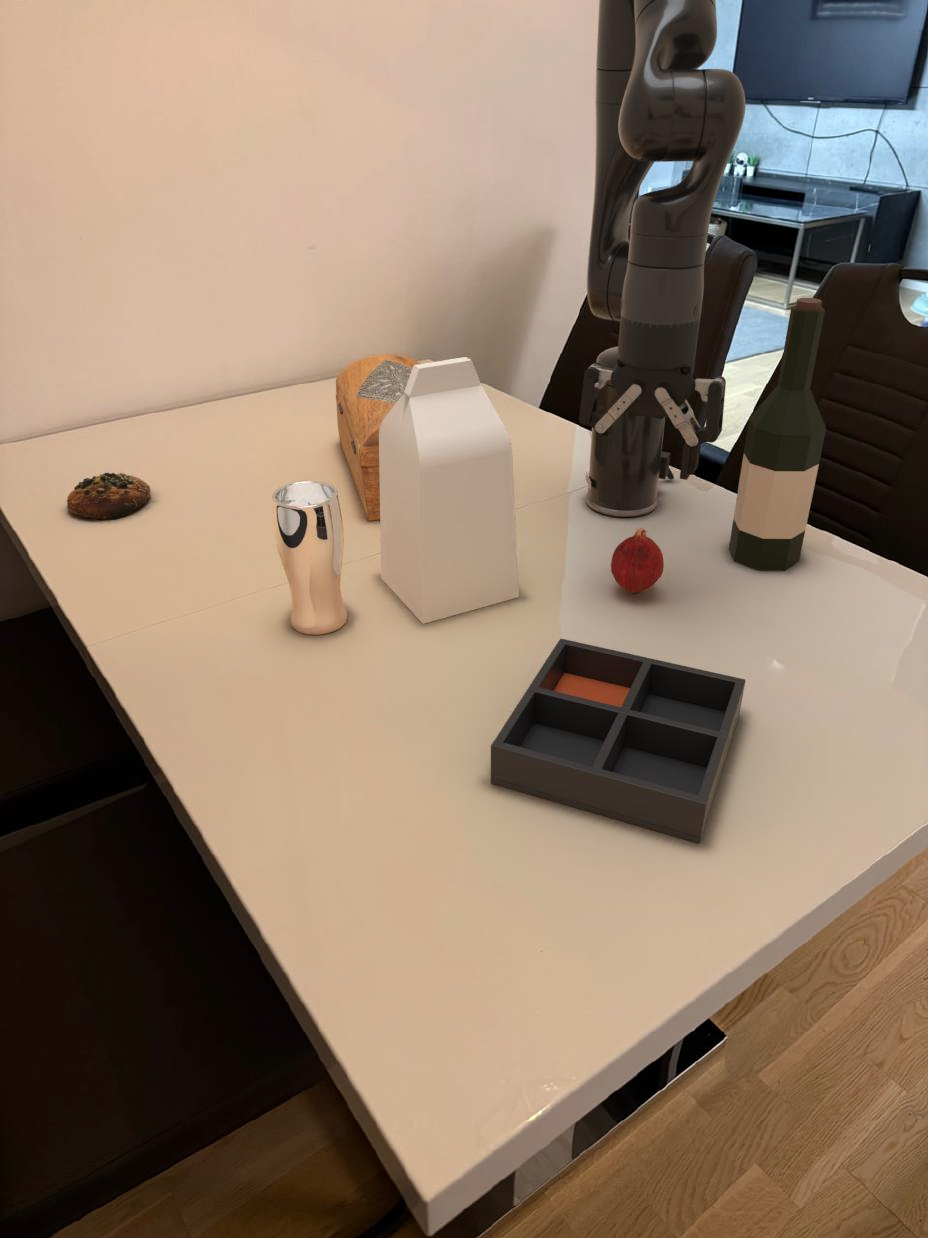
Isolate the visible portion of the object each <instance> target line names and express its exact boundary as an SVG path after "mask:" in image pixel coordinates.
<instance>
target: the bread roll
mask: <svg viewBox="0 0 928 1238" xmlns="http://www.w3.org/2000/svg"><path fill="white" fill-rule="evenodd" d="M150 496H151V486H150V485H149V484H148V482H146V481H144V480H142V479H141V478H140V477H137V476H134V475H129V474H126V473H123V472H120V473H115V472H111V473H110V472H104V473H101V474H99V475H97V476H96V475H93V476H92V477H91V478H89V477H86V478H83V480H82V481H79V482H78V483H77V485H75V486H74V487H73V490H71V492H69V494H68V495H67V499H66V509H67V510H68V511H69V512H70V513H71V514H74V515H75V516H79V517H82V518H90V519H95V520H98V519H102V520H107V521H110V520H111V521H112V520H115V519H118V518H122V517H123V516H126V515H129V514H131V513H133V512H135V510H139V509H140V508H142V506H144V505H145V504H146V503H147V500H148V498H150Z"/></svg>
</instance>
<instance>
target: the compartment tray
mask: <svg viewBox="0 0 928 1238" xmlns="http://www.w3.org/2000/svg"><path fill="white" fill-rule="evenodd" d="M745 686H746V679H745V678H740V677H736V676H731V675H727V674H724V673H723V674H722V673H718V672H713V671H709V670H704V669H700V668H695V667H691V666H686V665H682V664H678V663H674V662H673V663H672V662H668V661H663V660H659V659H656V658H650V657H646V656H642V655H638V654H633V653H628V652H623V651H620V650H614V649H611V648H606V647H601V646H597V645H592V644H588V643H583V642H580V641H574V640H571V639H566V638H559V640H558V641H557V643H556V644H555V646H554V647H553V649H552V651H551V652H550V654H549V655H548V656H547V658H546V659H545V661H544V663H543V665H542V666H541V668H540V669H539V670H538V672H537V674H536V675H535V676H534V678H533V680H532V681H531V683H530V685H529V686H528V687H527V689H526V690H525V692H524V694H523V696H522V697H521V698H520V700H519V701H518V703H517V704H516V706H515V708H514V709H513V711H511V714H510V715H509V717H508V718H507V720H506V722H505V723H504V725H503V726H502V728H501V729H500V731H499V732H498V734H497V736H496V737H495V739H494V740H493V742H491V744H490V784H492V785H497V786H500V787H503V788H507V789H510V790H514V791H517V792H520V793H524V794H527V795H530V796H534V797H538V798H541V799H544V800H548V801H552V802H555V803H559V804H562V805H565V806H569V807H572V808H576V809H578V810H582V811H586V812H590V813H593V814H596V815H600V816H603V817H607V818H610V819H614V820H617V821H621V822H624V823H628V824H631V825H635V826H638V827H641V828H645V829H648V830H652V831H655V832H659V833H662V834H666V835H669V836H673V837H676V838H679V839H683V840H687V841H689V842H693V843H696V844H700V843H701V841H702V838H703V835H704V832H705V829H706V825H707V822H708V818H709V815H710V812H711V808H712V805H713V802H714V799H715V796H716V793H717V789H718V785H719V783H720V779H721V777H722V773H723V769H724V767H725V763H726V759H727V756H728V753H729V750H730V748H731V745H732V744H731V743H732V742H733V737H734V734H735V731H736V729H737V728H736V727H737V723H738V721H739V717H740V713H741V707H742V703H743V697H744V690H745Z"/></svg>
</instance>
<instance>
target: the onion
mask: <svg viewBox="0 0 928 1238" xmlns="http://www.w3.org/2000/svg"><path fill="white" fill-rule="evenodd" d="M647 533H648V531H647V530H646V529H645V528H643V527H640V528H637V529H636V531H635V533H634V534H633V535H631V536H629V537H627V538H625V539H624V540H623V541H621V542H620V543H619V544H618V545H617V546H616V548H615V549H614V550H613V553H612V556H611V562H610V572H611V574H612V576H613V579H614V580H615V583H616V584H618V585H619V586H620V587H621V588H622V589H624V590H625V591H627V592H629V593H631V594H634V595H636V594H639V593H642V592H644V591H646V590H649V589H650V588H651V587H653V586H654V585H655V584H657V582H658V581H659V580H660V579H661V577H662V575H663V573H664V565H665V564H664V563H665V562H664V561H665V560H664V556H663V555H664V554H663V552H662V550H661V548H660V547H659V545H658V544H657V543H656V542H655V540H653V538H650V537H648V536H647Z"/></svg>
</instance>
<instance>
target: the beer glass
mask: <svg viewBox="0 0 928 1238" xmlns="http://www.w3.org/2000/svg"><path fill="white" fill-rule="evenodd" d="M271 500H272V517H273V519H272V520H273V530H274V531H273V532H274V538H275V543H276V548H277V552H278V556H279V560H280V562H281V566H282V568H283V571H284V574H285V578H286V580H287V584H288V586H289V591H290V594H291V596H290V597H291V608H290V609H291V610H290V624H291V627H292V628H293V629H294V630H295V631H297V632H299V633H301V634H305V635H310V636H319V635H326V634H329V633H332V632H336V631H338V630H339V629H341V628H342V627H343V626H344V625H346V623H347V621H348V613H347V609H346V606H345V603H344V599H343V596H342V588H341V587H342V585H341V584H342V583H341V581H342V570H343V560H344V547H345V546H344V545H345V544H344V543H345V537H344V525H343V517H342V512H341V505H340V501H339V500H340V499H339V493H338V489H337V487H336V486H335V485H333V484H331V483H328V482H325V481H319V480H301V481H295V482H289V483H287V484H284V485H282V486H280V487H278V488H277V489H275V490H274V491H273V492H272V494H271Z"/></svg>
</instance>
